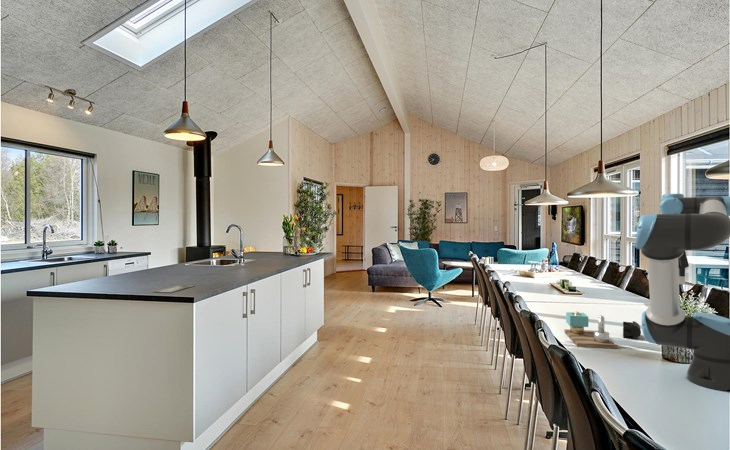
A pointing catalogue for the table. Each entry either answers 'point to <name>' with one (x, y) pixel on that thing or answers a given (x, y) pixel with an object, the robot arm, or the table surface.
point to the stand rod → (601, 332)
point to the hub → (576, 329)
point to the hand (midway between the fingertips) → (672, 281)
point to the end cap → (631, 330)
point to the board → (588, 340)
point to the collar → (577, 319)
